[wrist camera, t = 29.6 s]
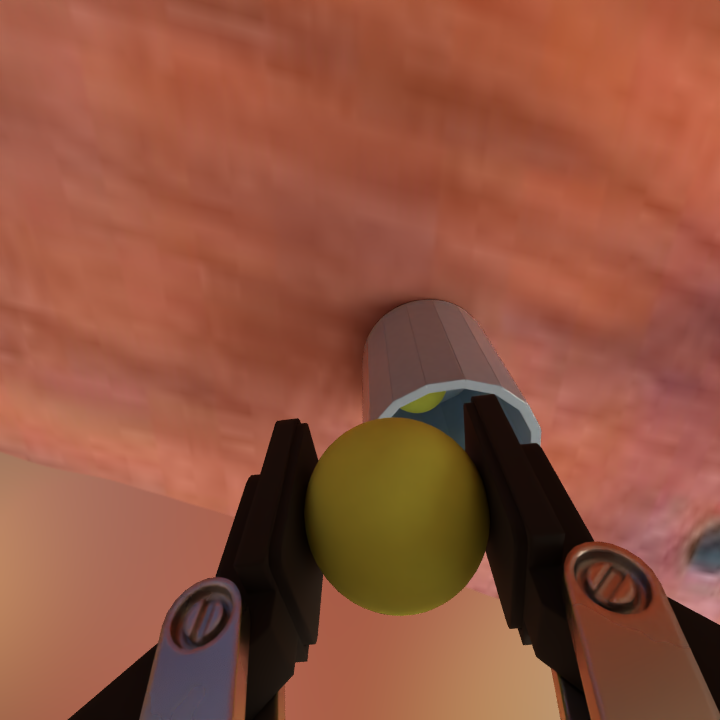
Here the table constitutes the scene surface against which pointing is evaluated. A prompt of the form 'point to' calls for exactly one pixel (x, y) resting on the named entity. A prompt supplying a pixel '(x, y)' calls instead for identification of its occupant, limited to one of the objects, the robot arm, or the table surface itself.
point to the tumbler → (438, 369)
